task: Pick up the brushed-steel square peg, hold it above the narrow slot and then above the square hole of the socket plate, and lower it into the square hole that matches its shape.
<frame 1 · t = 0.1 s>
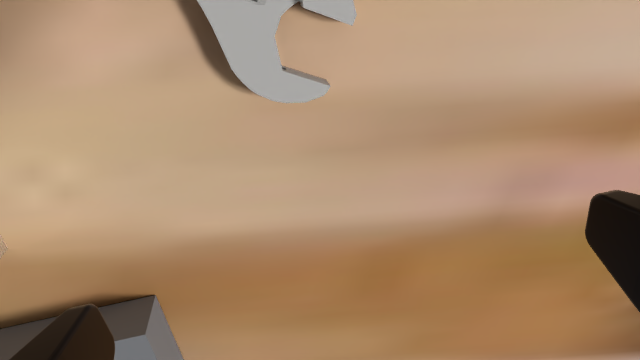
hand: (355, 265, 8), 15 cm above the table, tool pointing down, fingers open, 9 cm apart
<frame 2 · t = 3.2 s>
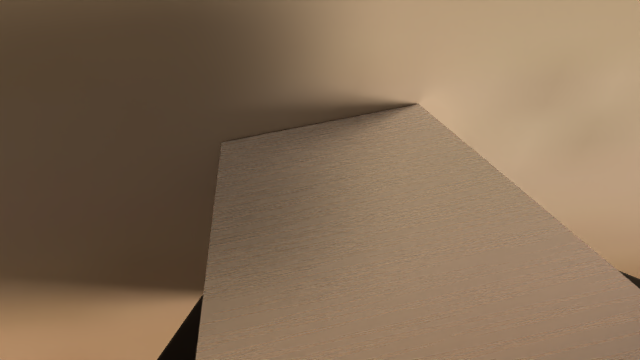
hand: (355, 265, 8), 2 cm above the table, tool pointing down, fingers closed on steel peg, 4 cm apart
steel peg: (334, 207, 10), on the table, touching gripper
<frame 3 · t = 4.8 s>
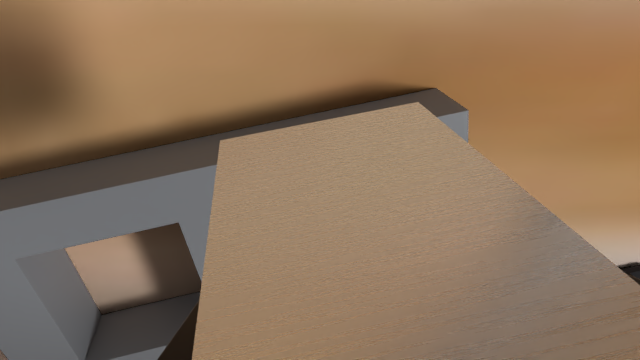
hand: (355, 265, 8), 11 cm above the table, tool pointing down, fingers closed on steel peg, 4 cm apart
steel peg: (333, 206, 9), point 9 cm above the table, touching gripper
socket plate: (237, 232, 20), on the table
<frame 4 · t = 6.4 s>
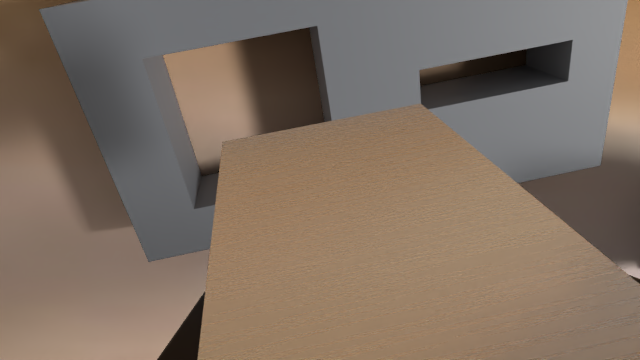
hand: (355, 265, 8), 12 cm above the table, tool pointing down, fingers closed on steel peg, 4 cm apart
steel peg: (336, 207, 9), point 10 cm above the table, touching gripper
socket plate: (352, 81, 19), on the table
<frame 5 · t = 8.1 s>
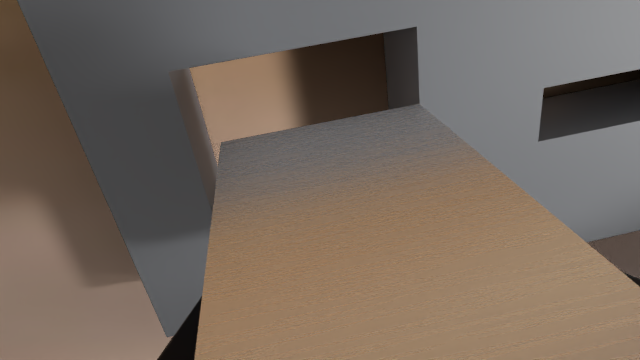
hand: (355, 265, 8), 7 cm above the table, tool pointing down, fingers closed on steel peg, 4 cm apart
steel peg: (334, 208, 9), point 6 cm above the table, touching gripper
socket plate: (431, 98, 15), on the table
when the fingers open (4 cm above the table, at t = 9.6 s): steel peg drops 2 cm, resting in socket plate.
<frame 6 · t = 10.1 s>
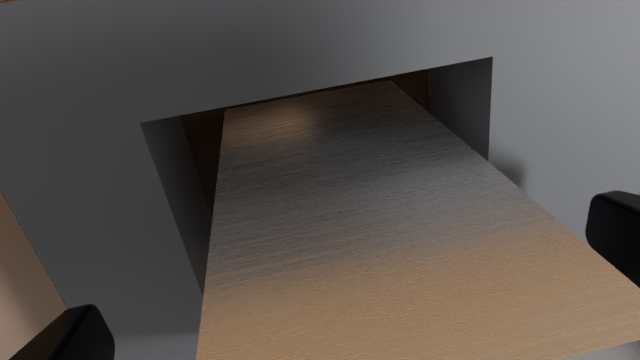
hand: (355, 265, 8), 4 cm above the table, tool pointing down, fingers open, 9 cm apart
steel peg: (320, 168, 11), resting in socket plate
socket plate: (484, 136, 12), on the table
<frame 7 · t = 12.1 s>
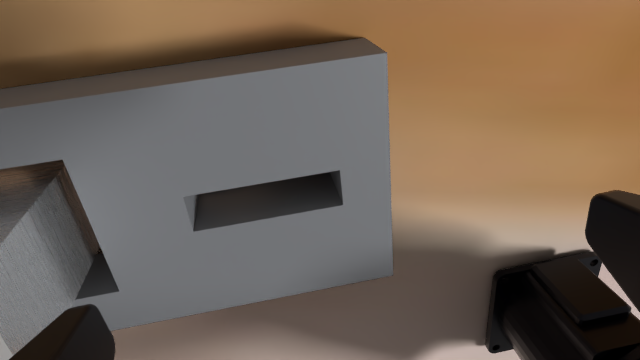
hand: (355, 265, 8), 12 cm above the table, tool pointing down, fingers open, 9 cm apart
steel peg: (42, 203, 19), resting in socket plate
socket plate: (148, 186, 19), on the table
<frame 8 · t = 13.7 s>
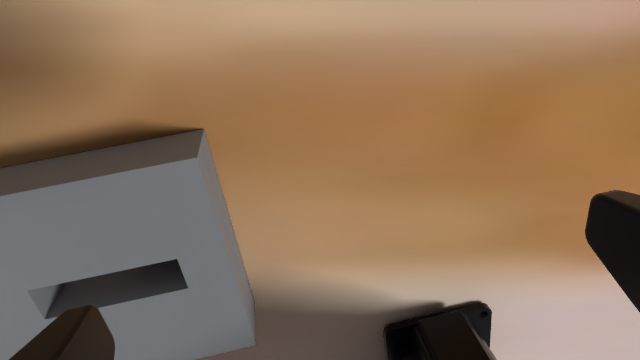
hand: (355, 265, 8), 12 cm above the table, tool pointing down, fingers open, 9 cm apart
socket plate: (19, 269, 20), on the table
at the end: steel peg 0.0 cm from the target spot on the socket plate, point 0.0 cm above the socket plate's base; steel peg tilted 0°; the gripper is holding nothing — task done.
